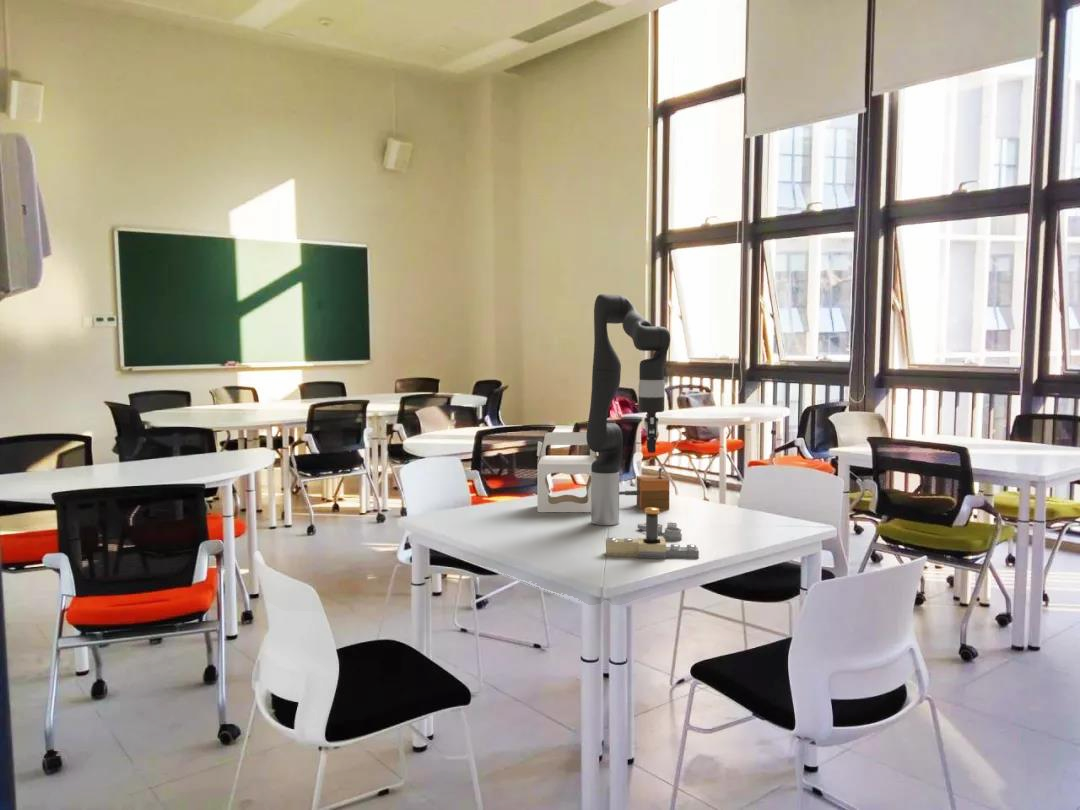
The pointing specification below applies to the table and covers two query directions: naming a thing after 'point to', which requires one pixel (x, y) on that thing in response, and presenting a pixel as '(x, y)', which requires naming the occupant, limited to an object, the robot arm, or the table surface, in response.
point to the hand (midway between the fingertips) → (651, 450)
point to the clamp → (651, 492)
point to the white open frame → (564, 466)
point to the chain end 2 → (672, 552)
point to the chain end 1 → (632, 546)
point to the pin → (652, 524)
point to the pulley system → (666, 531)
